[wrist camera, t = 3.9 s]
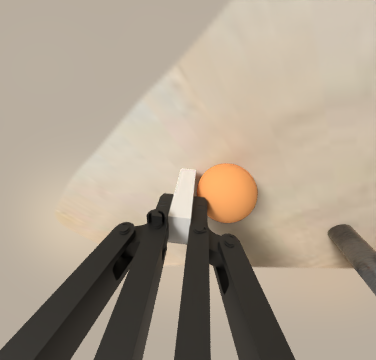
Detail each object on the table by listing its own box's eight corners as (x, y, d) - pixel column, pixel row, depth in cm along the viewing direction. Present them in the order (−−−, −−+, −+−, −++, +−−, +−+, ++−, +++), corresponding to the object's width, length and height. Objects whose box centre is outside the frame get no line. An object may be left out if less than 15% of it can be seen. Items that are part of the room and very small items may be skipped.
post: (356, 225, 20) (452, 318, 12) (343, 239, 21) (422, 329, 14) (334, 223, 20) (416, 314, 12) (323, 237, 21) (390, 325, 14)
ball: (255, 156, 16) (277, 189, 11) (241, 199, 19) (254, 239, 14) (200, 151, 16) (199, 181, 11) (195, 194, 19) (192, 232, 14)
